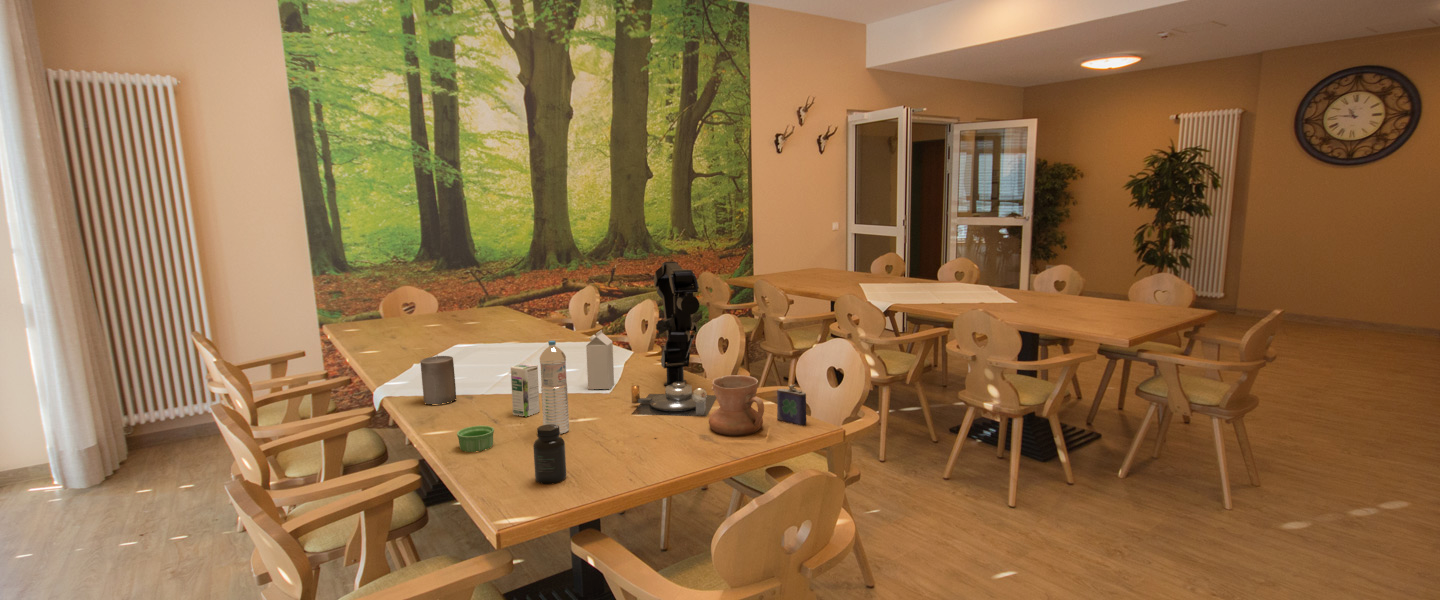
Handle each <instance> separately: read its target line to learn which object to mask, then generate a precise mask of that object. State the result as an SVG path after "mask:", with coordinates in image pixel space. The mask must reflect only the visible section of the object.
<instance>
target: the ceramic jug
mask: <svg viewBox="0 0 1440 600" xmlns="http://www.w3.org/2000/svg"><path fill="white" fill-rule="evenodd" d="M758 386H759V380H758V379H757V378H756V377H753V376H751V375H750V376H749V375H742V374H741V375H740V374H738V375H737V374H736V375H734V374H731V375H730V374H729V375H724V376H723V375H722V376H721V377H716V378H714V379H712V386H711V388H710V389H711V391H712V392H714V395H715V396H716V398H717V399H716V401H717V403H718V405H719V407H718V408H717V409H715V410H714V411H713V412H712V413H710V416H709V418H708V424H709V427H710V429H711V430H712V431H713V432H715V433H717V434H719V435H723V436H730V437H732V436H733V437H739V436H740V437H742V436H749V435H752V434H755V433H757V432H758V431H760V430H761V429H762V426H763V424H764V419H763V417H764V414H765V404H764V401H763V399H762V398H760V397H759V396H757V392H758ZM753 403H755V404H756V405H757V406H756V407H757V410H756V409H754V408H753V407H752V406H753Z"/></svg>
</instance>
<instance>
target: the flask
mask: <svg viewBox="0 0 1440 600" xmlns="http://www.w3.org/2000/svg"><path fill="white" fill-rule="evenodd" d="M795 386H796V384H791V385H788V388H789V389H786V388H778V389H777V390H776V394H777V395H776V397H777V412H776V413H777V416H776V417H777V418H776V419H777V421H778V422H780V423H782V422H783V423H786V424H791V425H796V426H799V427H805V426H807V394H806V392H803V391H802V390H798V389H797V388H795Z"/></svg>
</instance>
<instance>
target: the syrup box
mask: <svg viewBox="0 0 1440 600" xmlns="http://www.w3.org/2000/svg"><path fill="white" fill-rule="evenodd" d="M510 382H511V383H510V384H511V401H512V402H511V404H512V405H511V406H512V415H513V416H518V415H519V416H518V417H523V416H525V417H524V418H528V417H527V416H529V417H531V416H530V415H532V416H534V415H536V414H539V413H540V411H541V410H540V409H541V408H540V390H539V369H538V365H536V364H527V363H520V364H515V365H513V366H510ZM538 412H539V413H538ZM535 413H536V414H535ZM533 414H534V415H533Z"/></svg>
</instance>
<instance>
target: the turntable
mask: <svg viewBox="0 0 1440 600" xmlns="http://www.w3.org/2000/svg"><path fill="white" fill-rule="evenodd" d="M630 387H631V390H630V393H631V403H632V404H641V403H648V404H650V407H652V408H654V409H657V410H662V411H685V410H691V409H695V408H696V402H695V401H694V400H693V398H692V397H691V398H689V399H686V400H670V399H667V398H666V393H662V394H663V395H659V396H656V397H653V398H646V397H640V396H641V395H640V385H639V384H638V385H637V384H635V385H631V386H630Z"/></svg>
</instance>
